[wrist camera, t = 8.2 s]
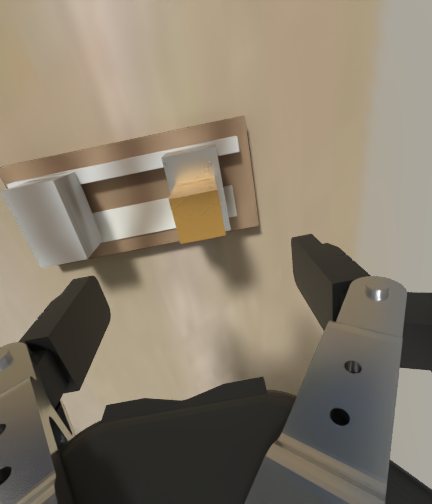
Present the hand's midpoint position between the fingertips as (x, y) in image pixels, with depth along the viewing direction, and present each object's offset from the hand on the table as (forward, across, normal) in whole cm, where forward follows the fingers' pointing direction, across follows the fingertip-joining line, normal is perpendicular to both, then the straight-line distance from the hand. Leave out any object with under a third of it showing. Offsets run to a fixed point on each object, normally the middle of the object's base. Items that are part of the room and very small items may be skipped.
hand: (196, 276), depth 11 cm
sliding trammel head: (+15, 0, -1) cm, 16 cm away
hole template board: (+18, +6, 0) cm, 19 cm away
